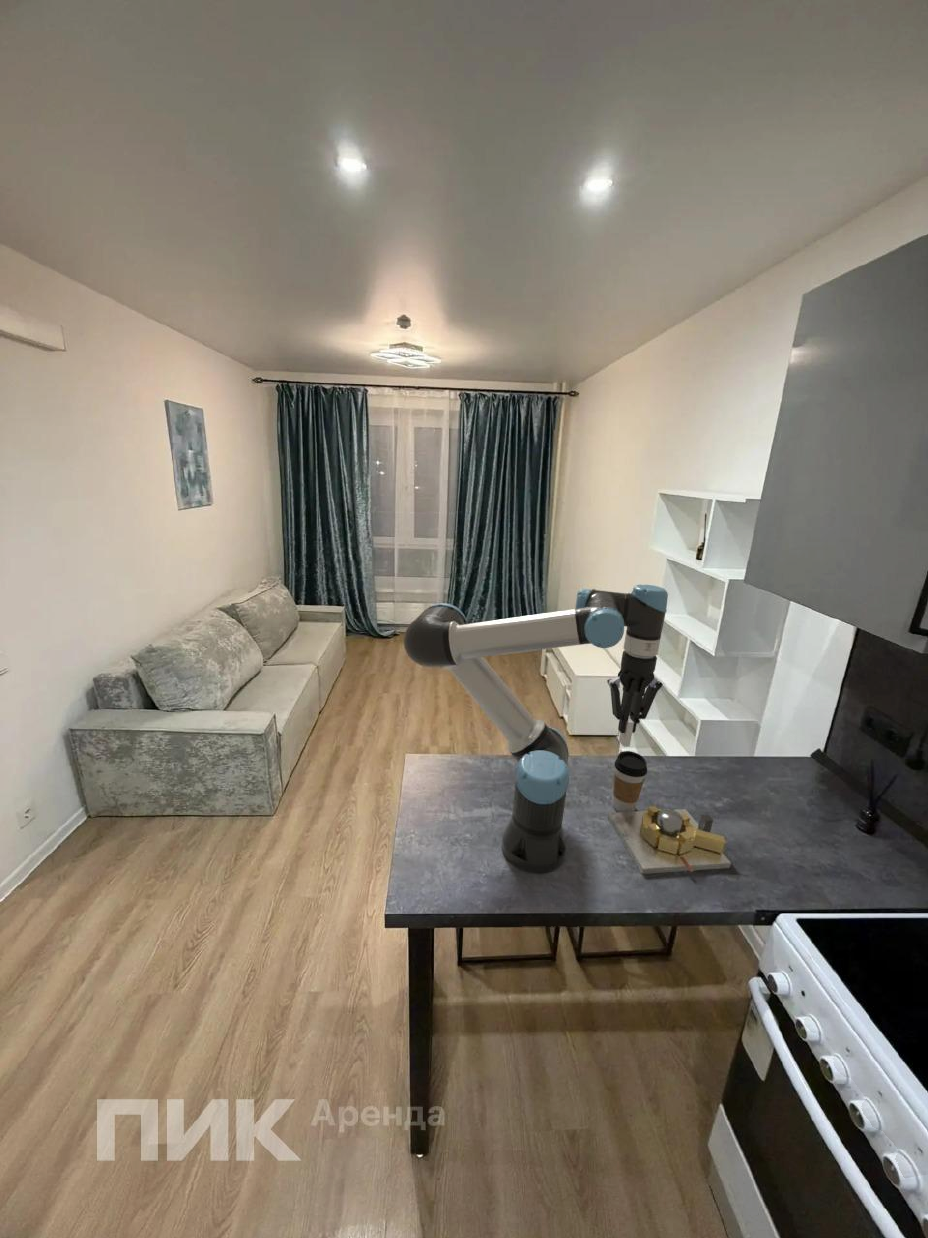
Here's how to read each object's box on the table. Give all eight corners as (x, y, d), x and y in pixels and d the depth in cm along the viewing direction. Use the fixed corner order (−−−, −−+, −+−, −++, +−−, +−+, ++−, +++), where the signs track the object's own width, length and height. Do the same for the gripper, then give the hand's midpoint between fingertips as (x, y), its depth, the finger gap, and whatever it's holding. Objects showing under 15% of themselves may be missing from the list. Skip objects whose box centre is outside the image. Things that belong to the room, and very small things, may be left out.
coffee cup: (635, 798, 140) (644, 752, 136) (643, 819, 132) (652, 770, 128) (605, 795, 141) (613, 748, 136) (610, 815, 133) (619, 766, 128)
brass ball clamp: (640, 844, 120) (643, 830, 119) (641, 814, 131) (644, 800, 130) (724, 868, 115) (728, 853, 113) (718, 834, 125) (722, 820, 124)
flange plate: (645, 880, 112) (651, 852, 110) (607, 817, 132) (611, 793, 129) (735, 873, 116) (743, 847, 113) (685, 813, 135) (691, 790, 133)
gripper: (620, 659, 109) (605, 753, 116) (675, 659, 111) (657, 751, 118) (606, 646, 117) (592, 736, 124) (658, 647, 119) (641, 735, 126)
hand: (624, 743), depth 121 cm, fingers closed
